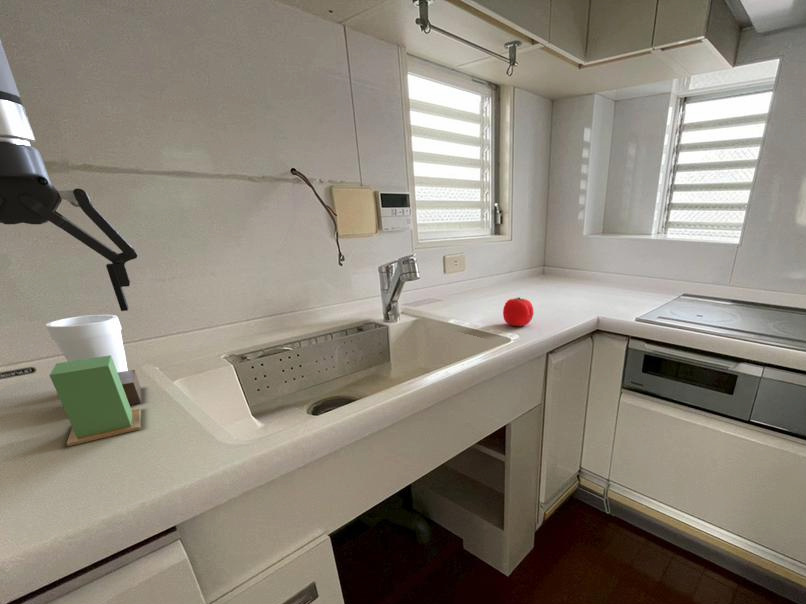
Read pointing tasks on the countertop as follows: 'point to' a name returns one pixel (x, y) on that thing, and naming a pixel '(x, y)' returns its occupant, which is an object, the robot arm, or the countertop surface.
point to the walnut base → (131, 386)
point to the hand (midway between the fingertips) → (60, 315)
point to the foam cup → (90, 338)
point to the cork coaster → (134, 426)
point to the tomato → (518, 312)
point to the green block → (92, 395)
